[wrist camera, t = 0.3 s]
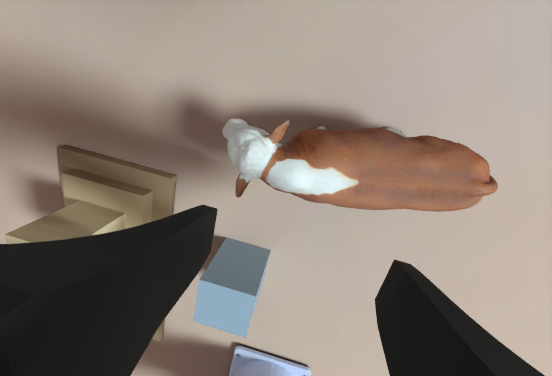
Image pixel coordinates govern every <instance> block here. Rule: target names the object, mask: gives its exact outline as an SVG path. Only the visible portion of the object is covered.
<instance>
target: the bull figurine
mask: <svg viewBox="0 0 552 376" xmlns="http://www.w3.org/2000/svg"><path fill="white" fill-rule="evenodd" d="M289 125H290V121H289V120H286V121H285V122H283V123H282V124H280V125H279V126H277V127H276V128H275V129H274V130H273V131H272V133H270V134H268V133H267V132H266V131H264V130H262V129H259V128H257V127H252V126H249V125H248V124H247V123H246V122H245V121H244V120H242V119H239V118H236V119H235V118H231V119H229V120H228V122H227V123H226V124H225V126H224V128H223V130H222V134H223V136H224V137H225V138H226V139H227V140H228V144H227V148H228V155H229V158H230V160H231V162H232V164H233V165H234V166H236V167H237V168H238V169H239V171H240V172H241V173H240V175H239V177H238V178H237V181H236V197H241V195H242V193H243V192H244V190H245V188H246V187H247V185H248V183H249V181H250V180H251V179H252V178H259V179H261V180H263V181H264V182H265V183H266V184H268V185H269V186H271V187H272V188H274V189H276V190H278V191H282V192H286V193H291V194H293V195H295V196H298V197H300V198H302V199H304V200H307V201H311V202H316V203H328V204H332V205H335V206H340V207H347V208H357V209H367V210H387V209H412V210H422V211H438V212H440V211H455V210H461V209H467V208H470V207H472V206H474V205H475V204H477V203H478V202H479V201H480V200H481V199H482V197H483V196H484V195H489V194H492V193H494V192H495V191H496V190H497V188H498V185H497V182H496V181H495V179H494V178H493V177H492V176H490V170H489V164H488V163H487V161H486V160H485V159H484V158H483V157H481V156H480V155H479V154H477V153H475V152H474V151H472V150H471V149H469V148H468V147H466V146H464V145H462V144H460V143H455V142H452V141H449V140H445V139H440V138H437V137H433V136H417V137H406V136H405V135H404V133H403V132H401V131H400V132H398V131H396V130H394V129H392V128H390V127H385V128H382V129H380V128H367V129H359V130H327V129H326V128H325V127H324V126H317V127H316V128H315V129H309V130H304V131H302V132H300V133H298V134H296V135H295V136H294V137H293V139H292V140H291V141H290V142H289V143H281V144H280V143H278V142H279V141H280V140H281V139H282V138H283V136H284V134H285V131H286V129H287V128H288V126H289Z"/></svg>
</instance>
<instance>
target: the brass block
mask: <svg viewBox="0 0 552 376" xmlns="http://www.w3.org/2000/svg"><path fill="white" fill-rule="evenodd" d="M123 229H126V213H123V212H119V211H116V210H112V209H109V208H106V207H102V206H99V205H95V204H92V203H88V202H85V201H81V200H80V201H78V202H75V203H73V204H71V205H69V206H67V207H64V208H62V209H60V210H58V211H56V212H53V213H51V214H49V215H47V216H45V217H42V218H40V219H38V220H36V221H34V222H31V223H29V224H27V225H25V226H23V227H20V228H18V229H16V230H14V231H12V232H9V233H7V234H5V236H6V241H7V244H16V243H31V242H44V241H54V240H63V239H71V238H77V237H84V236H91V235H98V234H103V233H109V232H113V231H118V230H123Z"/></svg>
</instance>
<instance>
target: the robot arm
mask: <svg viewBox="0 0 552 376" xmlns="http://www.w3.org/2000/svg"><path fill="white" fill-rule="evenodd" d="M216 215H217V209H216V208H213V207H209V206H206V205H201V206H197V207H194V208H191V209H188V210H185V211H183V212H180V213H177V214H174V215H171V216H168V217H165V218H162V219H159V220H156V221H152V222H149V223H145V224H142V225H139V226H135V227H131V228H127V229H123V230H118V231H113V232H109V233H103V234H98V235H91V236H84V237H77V238H71V239H63V240H54V241H44V242H31V243H16V244H0V376H130V375H131V373H132V372H133V370H134V368H135V366H136V365H137V363H138V361H139V360H140V358H141V356H142V354H143V353H144V351H145V349H146V348H147V346H148V344H149V343H150V341H151V339H152V338H153V336H154V334H155V333H156V331H157V329H158V328H159V326H160V325H161V323H162V322H163V320H164V319H165V317H166V316H167V315H168V313H169V312H170V310H171V309H172V308H173V306H174V305H175V304H176V302H177V301H178V300H179V298H180V297H181V296H182V294H183V293H184V292H185V290H186V289H187V287H188V286H189V285H190V283H191V282H192V281H193V279H194V278H195V276H196V275H197V274H198V272H199V271H200V269H201V267H202V266H203V264H204V262H205V260H206V258H207V257H208V255H209V253H210V251H211V246H212V240H213V234H214V227H215V221H216ZM375 305H376V316H377V324H378V329H379V333H380V338H381V342H382V346H383V350H384V354H385V358H386V362H387V366H388V370H389V374H390V376H544V375H543V374H542V373H540V372H539V371H538V370H536V369H535V368H533V367H532V366H531V365H529V364H528V363H527V362H525V361H524V360H523V359H521V358H520V357H519V356H517V355H516V354H515V353H513V352H512V351H511V350H510V349H508V348H507V347H506V346H504V345H503V344H502V343H500V342H499V341H498V340H497V339H495V338H494V337H493V336H492V335H491V334H489V333H488V332H487V331H486V330H485V329H483V328H482V327H481V326H480V325H479V324H478V323H476V322H475V321H474V320H473V319H472V318H470V317H469V316H468V315H467V314H466V313H465V312H464V311H463V310H461V309H460V308H459V307H458V306H457V305H456V304H455V303H454V302H453V301H451V300H450V299H449V298H448V297H447V296H446V295H445V294H444V293H443V292H442V291H441V290H439V289H438V288H437V287H436V286H435V285H434V284H433V283H432V282H431V281H430V280H429V279H428V278H426V277H425V276H424V275H423V274H422V273H421V272H420V271H418V270H417V269H416V268H415V267H413V266H412V265H411V264H408V263H405V262H401V261H398V260H394V261H393V263H392V265H391V268H390V270H389V272H388V274H387V276H386V278H385V280H384V282H383V284H382V286H381V288H380V290H379V292H378V294H377V296H376V298H375ZM310 375H311V370H310V368H308V367H306V366H303V365H300V364H297V363H293V362H290V361H287V360H284V359H281V358H278V357H274V356H271V355H268V354H265V353H262V352H259V351H256V350H252V349H249V348H246V347H243V346H236V348H235V350H234V355H233V359H232V363H231V367H230V372H229V376H310Z"/></svg>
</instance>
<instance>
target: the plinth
mask: <svg viewBox="0 0 552 376" xmlns="http://www.w3.org/2000/svg"><path fill="white" fill-rule="evenodd" d="M57 154H58V164H59V174H60V184H61V194H62V204H63V208H64V207H67V206H69V205H71V204H73V203H75V202H78V201H80V200H81V201H85V202H88V203H92V204H95V205H99V206H102V207H106V208H109V209H112V210H116V211H119V212H123V213H126V229H127V228H131V227H135V226H139V225H142V224H145V223H149V222H152V221H156V220H159V219H162V218H165V217H168V216H171V215H173V211H174V199H175V186H176V175H173V174H169V173H165V172H162V171H158V170H155V169H151V168H147V167H144V166H140V165H136V164H133V163H129V162H125V161H122V160H118V159H114V158H111V157H107V156H104V155H100V154H96V153H93V152H89V151H85V150H82V149H78V148H74V147H71V146H67V145H64V146H59V147H57ZM164 321H165V319H164V320H163V322H162V323H161V325H160V326H159V328H158V329H157V331H156V333H155V334H154V336H153V338H152V339H151V340H153V341H157V342H160V340H161V339H162V337H163V333H164Z"/></svg>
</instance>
